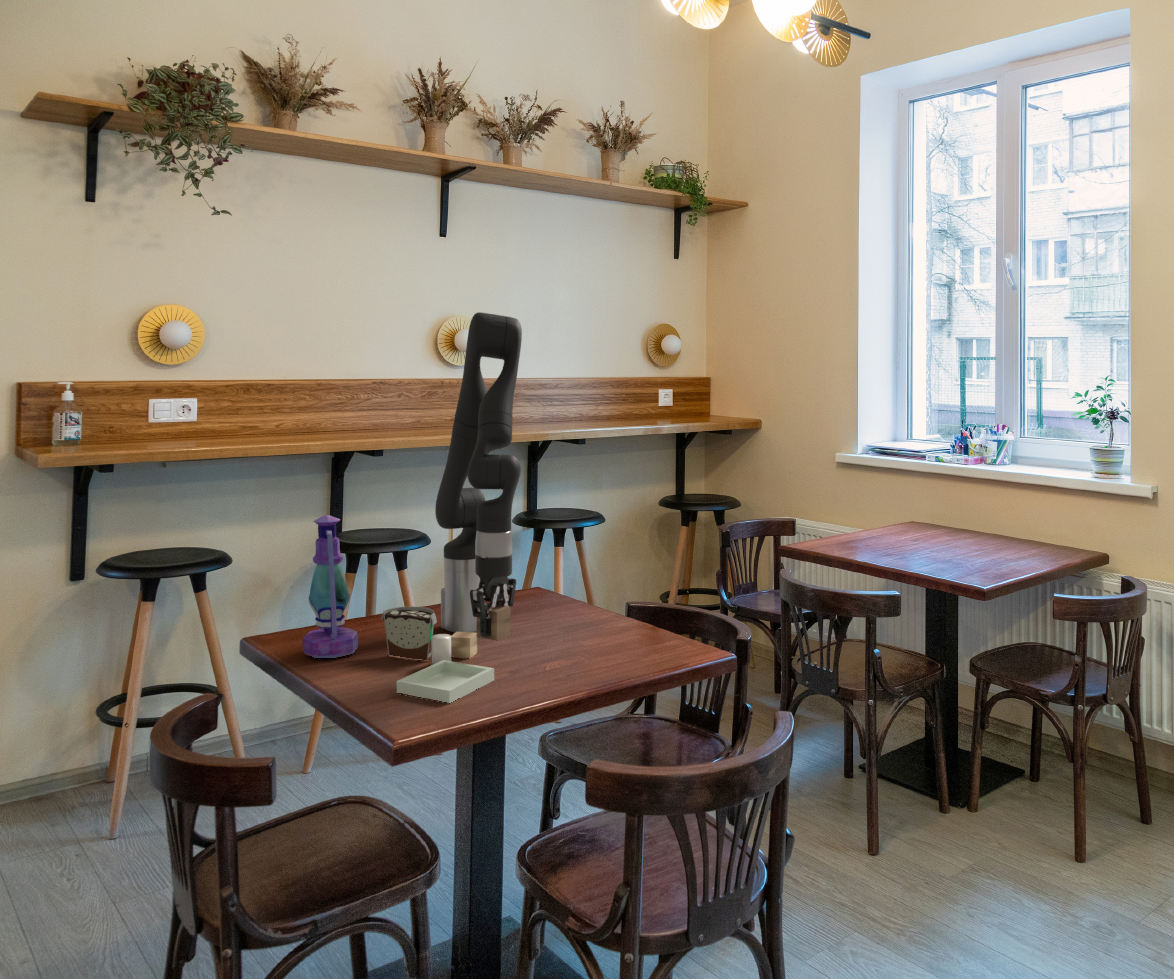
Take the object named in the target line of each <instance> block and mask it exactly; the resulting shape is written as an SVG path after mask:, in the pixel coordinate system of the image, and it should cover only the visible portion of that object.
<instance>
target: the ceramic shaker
mask: <svg viewBox="0 0 1174 979" xmlns="http://www.w3.org/2000/svg"><path fill="white" fill-rule="evenodd" d="M451 636H452V635H451V634H447V633H438V634H433V636H432V637H431V644H432V651H431V665H434V664H436V663H438V662H440V661H443V660H446V661H452V658H451Z"/></svg>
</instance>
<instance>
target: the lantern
mask: <svg viewBox="0 0 1174 979" xmlns="http://www.w3.org/2000/svg"><path fill="white" fill-rule="evenodd" d="M340 521H341V519H340V518H337V517H336V516H332V515H330V514H329V515H328V514H326V515H323V516H319V517H318V518H316V519H314V520H313V521H312V522H313V523H315V524H316V525H318V527H317V534H318V538H316V539H315V554H314V556H313V557H312V562H313V563H314V564H315V565H316V566H315V568H314V571H313V574H312V579H311V584H310V588H309V589H310V590H309V594H308V595H309V596H308V604H309V606H310V608H311V609H312V611H313V613H314V614H315V616H316V617H315V620H314V621H316V622H315V624H314V626H315V627H317V628H319V629H313V630H309V632H307V633H306V634H305V635H304V636H303V637H302V649H303V654H304V653H305V654H308V655H310V656H312V657H311V658H313V657H314V658H313V659H315V658H336V657H341V656H344V655H348V654H352V655H354V653H355V652H356V651H357V649H358V647H359V646H358V644H359V633H358V632H357V631H356V630H354V629H351V628H348V627H342V626H344V625H345V624H346V621H345V614H344V613H345V610H347V609H346V608H347V607H348V605H349V602H350V599H351V595H350V591H349V587H348V584H347V580H346V576H345V573H344V570H343V567H342V565H341V562H342V561H343V560H344V556H343V554H342V553H341V549H340V547H341V546H340V541H341V540H340V538H339V537H337V525H336V524H337V523H339V522H340ZM355 650H356V651H355ZM305 654H304V655H305ZM308 655H307V656H308ZM310 656H309V657H310ZM341 658H342V657H341ZM336 659H337V658H336Z"/></svg>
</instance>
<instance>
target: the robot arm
mask: <svg viewBox="0 0 1174 979" xmlns="http://www.w3.org/2000/svg"><path fill="white" fill-rule="evenodd" d="M522 331H523V330H522V325H521V322H520V321H519V319H517V318H515V317H511V316H506V315H500V314H494V313H488V312H480V311H479V312H476V313H474V314H473V316H472V318H471V320H470V322H469V327H468V333H467V339H466V340H467V341H466V348H465V358H464V366H463V373H462V378H461V379H462V381H461V386H460V390H459V395H458V400H457V404H456V409H455V413H454V419H453V425H452V432H451V437H450V442H449V443H450V445H449V448H448V454H447V459H446V464H445V466H444V470H443V475H442V477H441V481H440V484H439V488H438V491H437V496H436V500H435V511H434V512H435V519H436V521H437V524H438V526H439V527H440V528H442V529H444V530H445V529H447V530H457V529H462V530H461V532H460V534H459V535H457V536H456V537H455V538H454V539H452V540H450V541H449V542H447V543H446V544H444V546H443V577H444V578H443V584H444V586H443V587H442V588H441V589H440V622H441V625H440V626H441V629H444V630H445V631H448V632H451V633H456V632H474V633H476V632H477V617H478V618H480V634H481V636H484V637H489V636H491V619H490V618H491V614H492V609H493V608H495V605H497V604H499V605H503V606H510V607H511V608H512V607H513V606H514V602H515V594H516V586H517V579H516V578H511V577H509V576H511V575H512V574H513V535H512V512H513V511H512V510H513V502H514V498H515V494H516V490H517V486H518V483H519V481H520V476H521V471H522V470H521V467H522V466H521V463H520V461H519V460H518V458H517V457H516V456H514V455H512V454H490V452H493V451H496V450H501V449H503V448H507V447H508V446H510V445H511V443H512V439H513V409H514V408H513V406H514V397H515V391H516V390H515V389H516V385H517V380H518V379H517V378H518V372H519V371H518V370H519V363H520V356H521V348H522V340H523V336H522V335H523V332H522ZM483 357H484V358H490V359H491V358H492V359H496V360H503V364H502V370H501V372H500V374H499V375H498V377H497V378H496V380H495V381H494V383H493V384H492V385H491V386H490V387H489V389H488V388H487V386H486V383H485V381H484V377H483V375H482V370H481V369H482V368H481V359H482V358H483ZM466 480H468V482H469V484H470V486H471V487H464V486H465V485H464V484H465V483H466ZM482 490H502V493H501V494H500V495H499V496H498V497H496V498H492V499H488V500H486V498H485V495H484V493H483V491H482ZM487 602H488V603H487ZM485 607H487V613H486V610H485ZM477 608H479V611H478V609H477Z"/></svg>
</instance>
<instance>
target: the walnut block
mask: <svg viewBox="0 0 1174 979" xmlns="http://www.w3.org/2000/svg"><path fill="white" fill-rule="evenodd" d="M511 608H512V607H510V606H503V605H499V604H497V605H495V608H493V609H492V614H491V618H490V619H491V636H489V637H484V636H481V634H480V618H478V617H477V631H476V633H477V638H481V639H486V640H490V641H500V640H502V639H504V638H506V637H508V636H510V635H511V614H512V613H511V610H512V609H511ZM477 609H478V611H479V608H477ZM485 610H486V613H487V607H485Z"/></svg>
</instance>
